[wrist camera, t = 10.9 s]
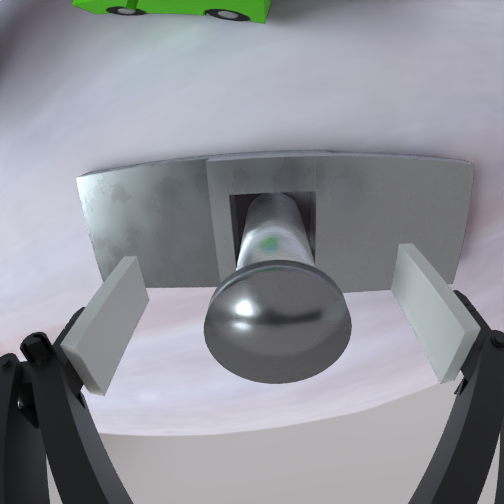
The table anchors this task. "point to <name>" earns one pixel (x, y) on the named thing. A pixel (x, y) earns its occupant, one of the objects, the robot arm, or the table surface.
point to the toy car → (182, 8)
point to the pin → (276, 302)
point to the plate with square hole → (271, 181)
